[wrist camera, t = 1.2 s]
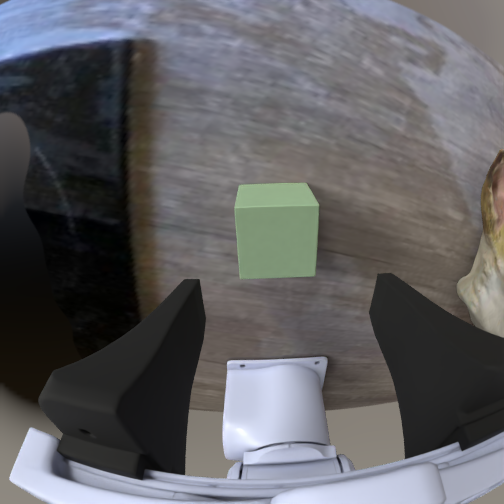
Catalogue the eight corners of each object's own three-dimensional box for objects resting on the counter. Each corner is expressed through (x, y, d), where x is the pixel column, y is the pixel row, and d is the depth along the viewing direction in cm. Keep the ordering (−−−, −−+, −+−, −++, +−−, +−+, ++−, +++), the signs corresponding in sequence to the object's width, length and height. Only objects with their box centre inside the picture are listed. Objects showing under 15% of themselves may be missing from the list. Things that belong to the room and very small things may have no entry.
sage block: (243, 245, 21) (239, 279, 17) (239, 184, 19) (234, 207, 15) (305, 243, 21) (315, 276, 17) (306, 182, 19) (319, 204, 15)
